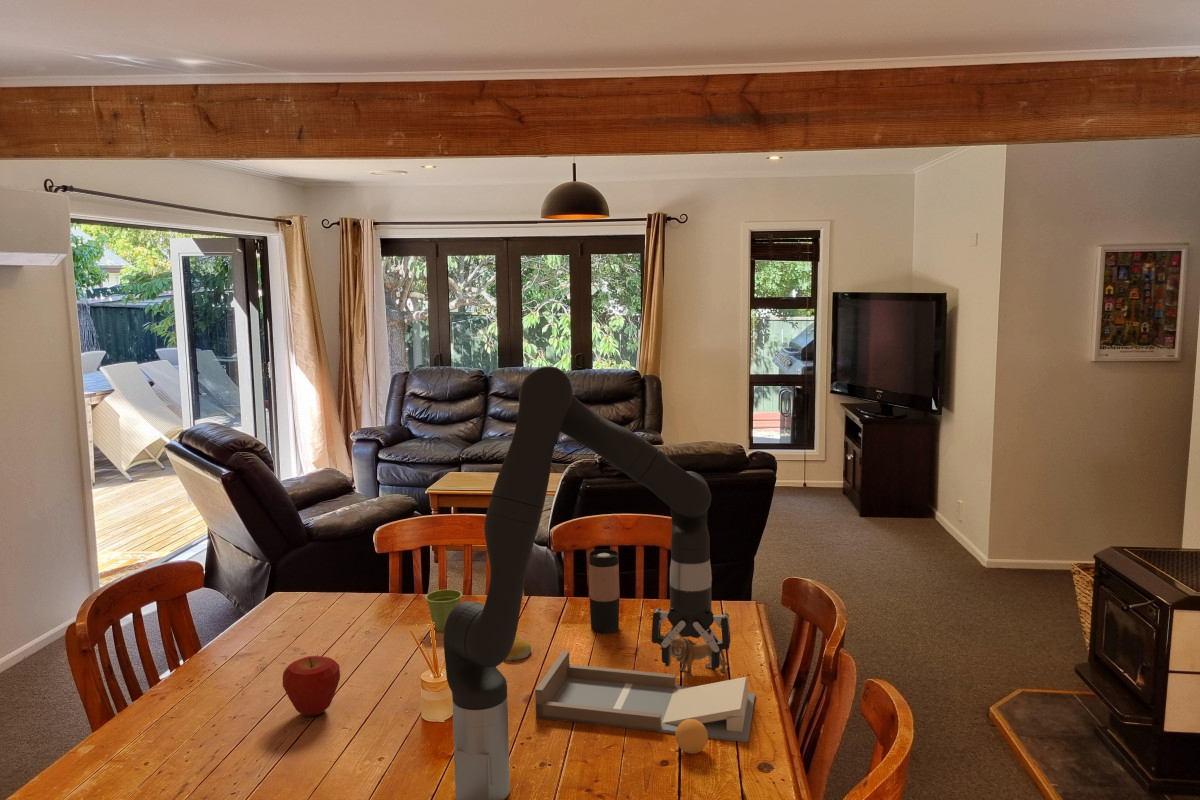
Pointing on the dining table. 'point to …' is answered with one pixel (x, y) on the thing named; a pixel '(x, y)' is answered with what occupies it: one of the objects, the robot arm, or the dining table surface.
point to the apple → (311, 683)
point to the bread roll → (519, 649)
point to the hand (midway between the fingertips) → (691, 666)
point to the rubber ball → (691, 736)
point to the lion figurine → (693, 653)
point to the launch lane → (643, 700)
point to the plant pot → (442, 605)
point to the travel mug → (604, 590)
